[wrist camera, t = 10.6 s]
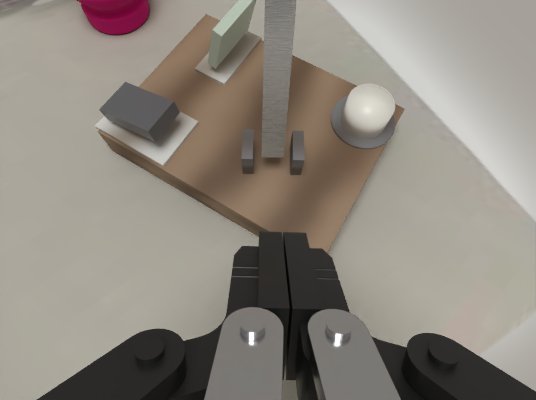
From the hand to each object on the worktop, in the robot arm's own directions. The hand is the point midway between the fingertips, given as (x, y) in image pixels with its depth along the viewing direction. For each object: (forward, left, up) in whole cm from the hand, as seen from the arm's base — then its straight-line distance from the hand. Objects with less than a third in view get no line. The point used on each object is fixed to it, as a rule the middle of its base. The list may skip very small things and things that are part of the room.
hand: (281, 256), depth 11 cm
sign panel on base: (-14, +16, -12) cm, 24 cm away
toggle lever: (-5, +9, -11) cm, 15 cm away
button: (-1, +16, -12) cm, 20 cm away
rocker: (-15, +6, -11) cm, 20 cm away
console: (-8, +11, -16) cm, 21 cm away
